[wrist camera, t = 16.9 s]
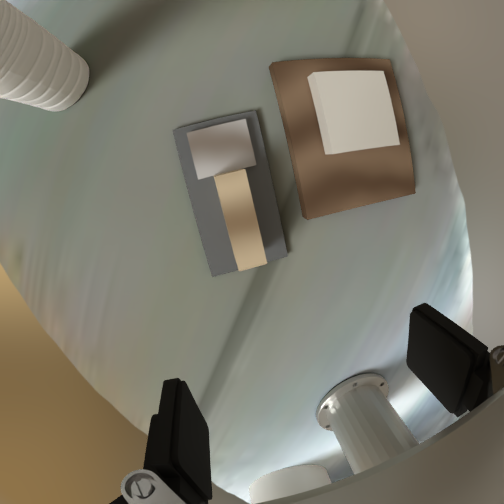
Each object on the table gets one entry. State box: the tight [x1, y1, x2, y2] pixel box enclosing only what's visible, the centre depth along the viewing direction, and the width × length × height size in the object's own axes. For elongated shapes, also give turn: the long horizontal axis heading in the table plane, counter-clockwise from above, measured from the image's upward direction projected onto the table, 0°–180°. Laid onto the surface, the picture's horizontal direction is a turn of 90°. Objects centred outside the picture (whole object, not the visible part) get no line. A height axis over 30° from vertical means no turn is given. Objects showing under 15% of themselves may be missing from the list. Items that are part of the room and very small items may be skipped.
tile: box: [307, 71, 400, 155], centre depth 25 cm, size 2×8×8 cm
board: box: [269, 58, 416, 220], centre depth 27 cm, size 16×14×2 cm
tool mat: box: [173, 110, 288, 277], centre depth 28 cm, size 15×8×1 cm, turn 13°
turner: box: [187, 119, 267, 271], centre depth 26 cm, size 13×6×4 cm, turn 13°
